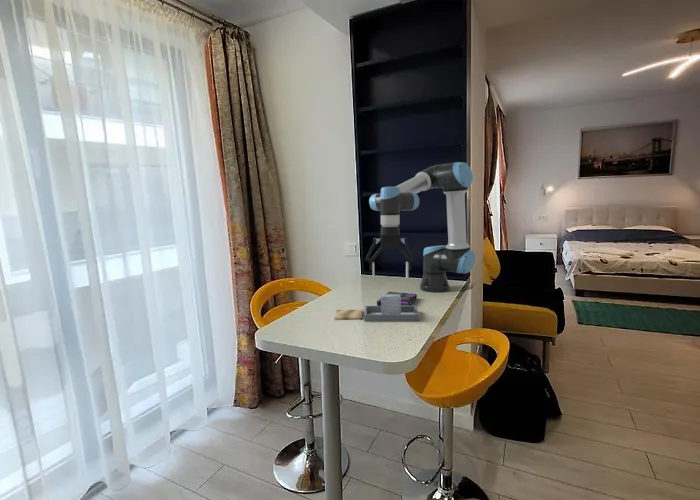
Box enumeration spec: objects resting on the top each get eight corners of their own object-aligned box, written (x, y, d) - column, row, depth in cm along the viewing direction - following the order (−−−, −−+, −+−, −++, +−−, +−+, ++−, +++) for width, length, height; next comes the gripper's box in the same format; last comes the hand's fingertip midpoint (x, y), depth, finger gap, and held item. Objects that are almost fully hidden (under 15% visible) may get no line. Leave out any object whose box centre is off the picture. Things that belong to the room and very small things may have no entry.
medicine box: (400, 314, 152) (400, 294, 151) (401, 317, 148) (400, 297, 147) (381, 314, 153) (381, 294, 152) (381, 317, 148) (381, 297, 147)
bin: (415, 311, 156) (415, 305, 156) (419, 321, 143) (419, 314, 143) (365, 311, 157) (365, 305, 157) (364, 321, 145) (364, 314, 144)
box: (406, 312, 158) (417, 300, 176) (406, 304, 158) (417, 293, 175) (376, 308, 164) (389, 297, 181) (376, 301, 163) (389, 290, 181)
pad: (362, 311, 158) (362, 309, 157) (361, 319, 147) (361, 317, 147) (337, 311, 158) (337, 309, 158) (334, 319, 147) (334, 317, 147)
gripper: (420, 225, 148) (420, 276, 151) (359, 225, 150) (360, 276, 153) (422, 226, 141) (422, 280, 143) (358, 226, 143) (359, 280, 145)
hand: (390, 278), depth 148 cm, fingers open, 13 cm apart
